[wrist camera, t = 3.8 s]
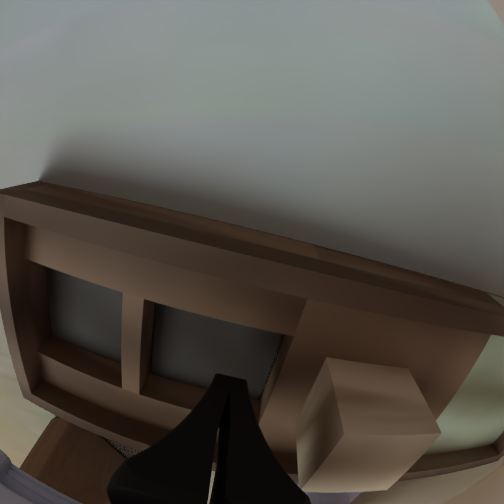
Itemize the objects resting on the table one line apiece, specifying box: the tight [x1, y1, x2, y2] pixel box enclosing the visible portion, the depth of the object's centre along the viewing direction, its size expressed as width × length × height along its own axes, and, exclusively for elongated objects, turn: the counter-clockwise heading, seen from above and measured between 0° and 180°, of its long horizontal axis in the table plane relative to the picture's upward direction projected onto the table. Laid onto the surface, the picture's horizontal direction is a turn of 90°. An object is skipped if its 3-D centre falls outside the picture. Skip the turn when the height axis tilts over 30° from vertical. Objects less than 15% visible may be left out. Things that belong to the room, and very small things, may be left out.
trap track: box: [0, 181, 504, 482], centre depth 14 cm, size 13×37×4 cm, turn 77°
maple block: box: [295, 357, 442, 493], centre depth 11 cm, size 4×4×4 cm
